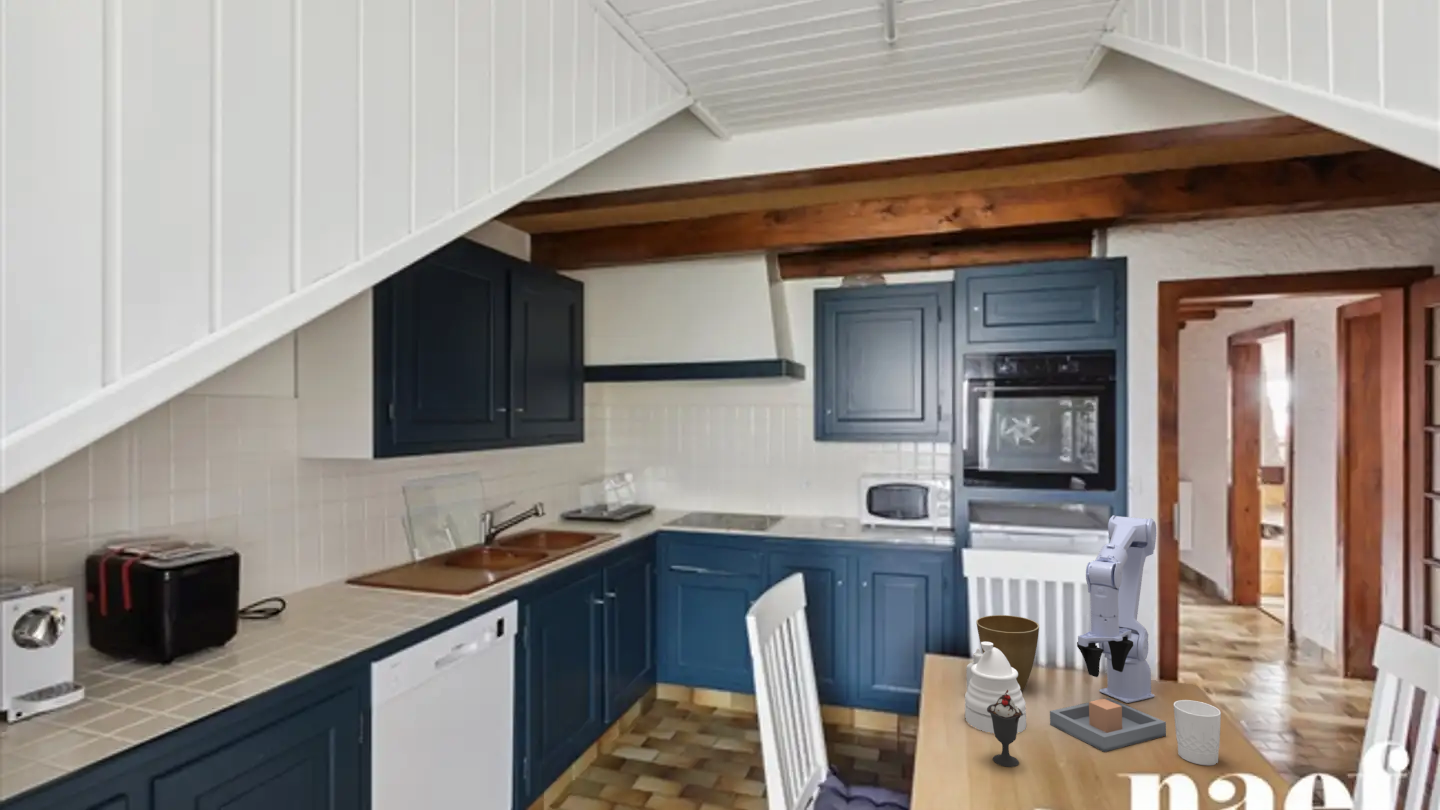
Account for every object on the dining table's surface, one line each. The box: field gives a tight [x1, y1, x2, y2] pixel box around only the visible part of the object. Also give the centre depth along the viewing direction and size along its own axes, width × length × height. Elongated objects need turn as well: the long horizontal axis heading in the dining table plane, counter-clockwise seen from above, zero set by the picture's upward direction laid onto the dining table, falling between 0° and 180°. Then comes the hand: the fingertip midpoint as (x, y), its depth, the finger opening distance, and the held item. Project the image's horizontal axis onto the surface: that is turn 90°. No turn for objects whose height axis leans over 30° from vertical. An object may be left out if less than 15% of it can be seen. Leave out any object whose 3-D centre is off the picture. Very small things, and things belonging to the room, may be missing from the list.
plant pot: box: [975, 614, 1040, 691], centre depth 182 cm, size 15×15×16 cm
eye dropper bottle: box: [966, 647, 983, 692], centre depth 175 cm, size 4×6×12 cm
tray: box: [1049, 697, 1167, 753], centre depth 156 cm, size 18×14×3 cm
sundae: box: [987, 690, 1023, 768], centre depth 144 cm, size 7×7×15 cm
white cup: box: [1173, 699, 1222, 766], centre depth 144 cm, size 8×8×10 cm
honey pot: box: [964, 642, 1027, 734], centre depth 162 cm, size 13×13×18 cm
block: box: [1088, 698, 1122, 733], centre depth 157 cm, size 4×4×5 cm
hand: (1105, 673), depth 165 cm, fingers open, 7 cm apart
